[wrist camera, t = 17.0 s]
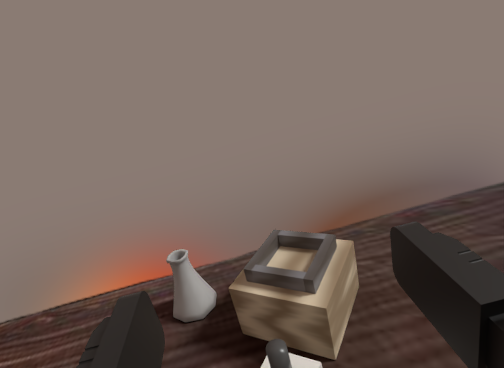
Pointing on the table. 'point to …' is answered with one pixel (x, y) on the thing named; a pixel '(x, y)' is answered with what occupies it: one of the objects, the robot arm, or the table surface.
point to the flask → (189, 289)
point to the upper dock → (298, 291)
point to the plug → (285, 357)
